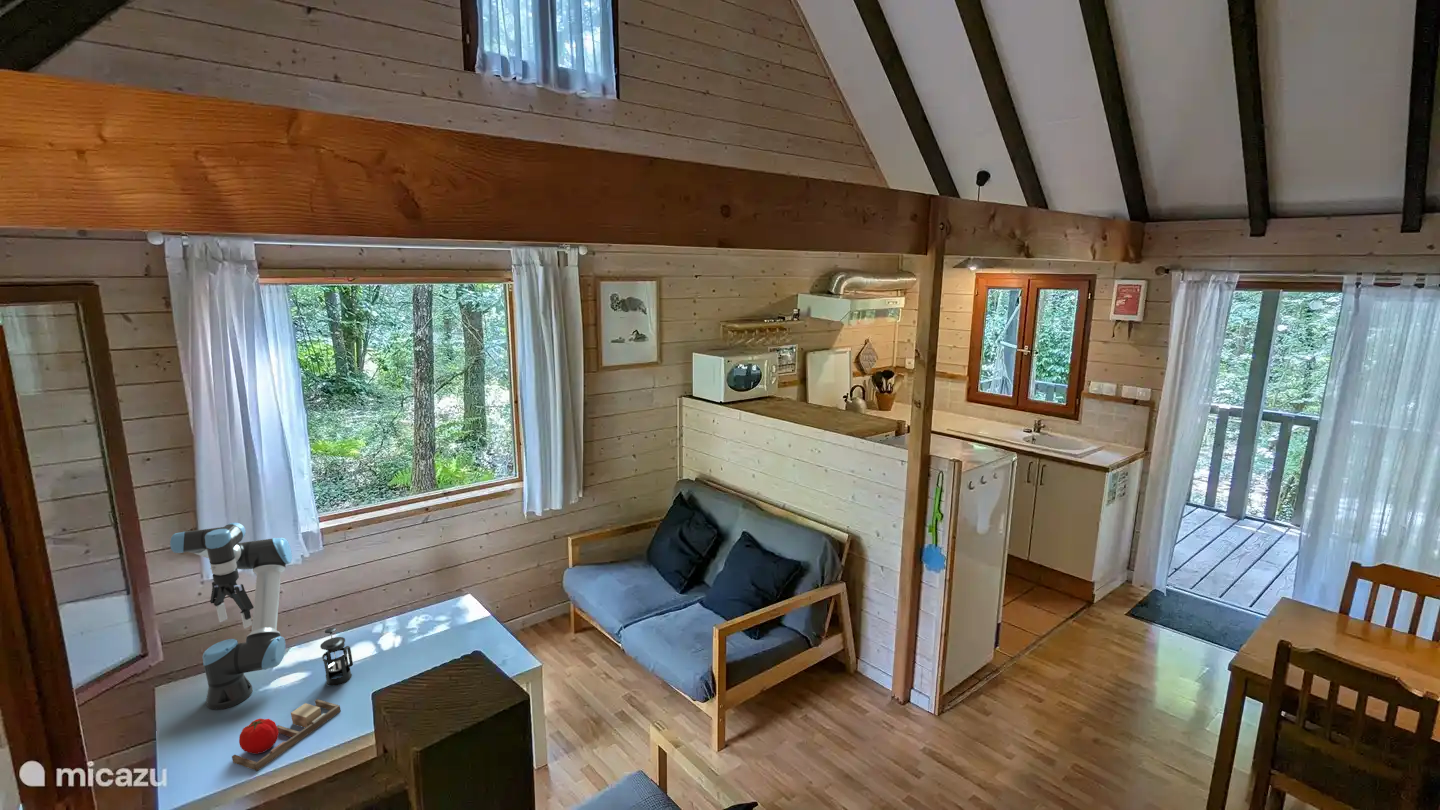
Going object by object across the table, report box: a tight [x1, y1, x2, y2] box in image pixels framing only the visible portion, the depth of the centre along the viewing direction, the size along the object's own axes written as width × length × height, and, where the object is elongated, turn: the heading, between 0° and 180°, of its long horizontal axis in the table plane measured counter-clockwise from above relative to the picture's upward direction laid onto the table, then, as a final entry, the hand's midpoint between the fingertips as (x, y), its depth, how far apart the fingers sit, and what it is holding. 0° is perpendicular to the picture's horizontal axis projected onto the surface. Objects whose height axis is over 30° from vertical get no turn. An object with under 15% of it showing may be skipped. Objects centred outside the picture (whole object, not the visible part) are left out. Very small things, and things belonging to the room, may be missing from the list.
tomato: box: [238, 718, 279, 755], centre depth 243 cm, size 12×12×11 cm
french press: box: [319, 626, 354, 687], centre depth 281 cm, size 12×9×23 cm
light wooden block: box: [290, 702, 323, 728], centre depth 257 cm, size 8×6×5 cm
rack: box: [231, 698, 342, 772], centre depth 250 cm, size 12×33×3 cm, turn 159°
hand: (235, 623), depth 254 cm, fingers open, 13 cm apart
